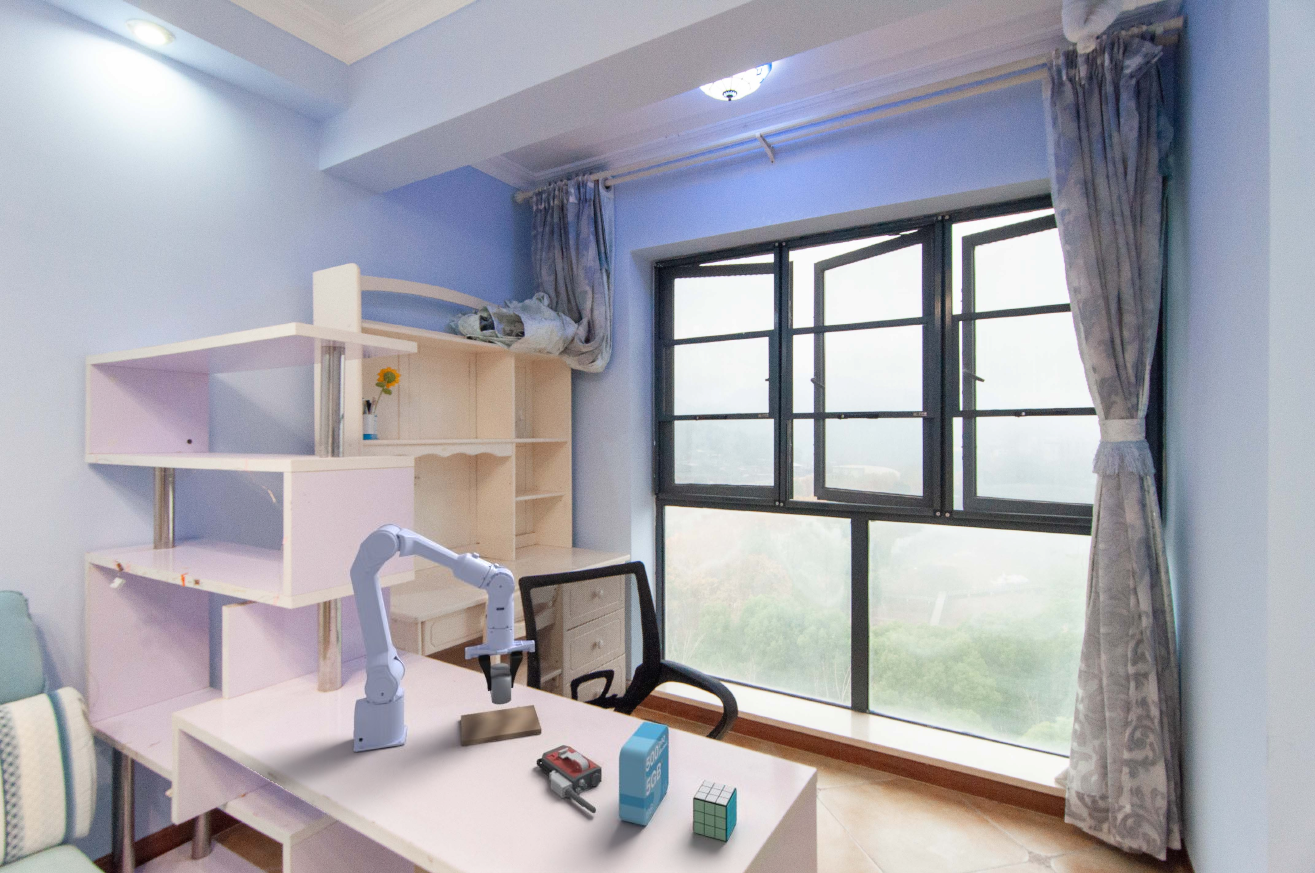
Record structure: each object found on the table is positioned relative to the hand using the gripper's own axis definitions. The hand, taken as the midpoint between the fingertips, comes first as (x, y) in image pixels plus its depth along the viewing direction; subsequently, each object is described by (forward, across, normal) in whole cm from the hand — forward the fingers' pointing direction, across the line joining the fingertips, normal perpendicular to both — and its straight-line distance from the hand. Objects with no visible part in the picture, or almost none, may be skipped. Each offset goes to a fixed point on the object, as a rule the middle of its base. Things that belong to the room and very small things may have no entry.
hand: (500, 687), depth 131 cm
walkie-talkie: (+9, +11, -27) cm, 30 cm away
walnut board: (+8, 0, 0) cm, 8 cm away
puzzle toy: (+9, +30, -46) cm, 56 cm away
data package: (+9, +21, -37) cm, 43 cm away
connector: (+1, 0, +1) cm, 2 cm away
